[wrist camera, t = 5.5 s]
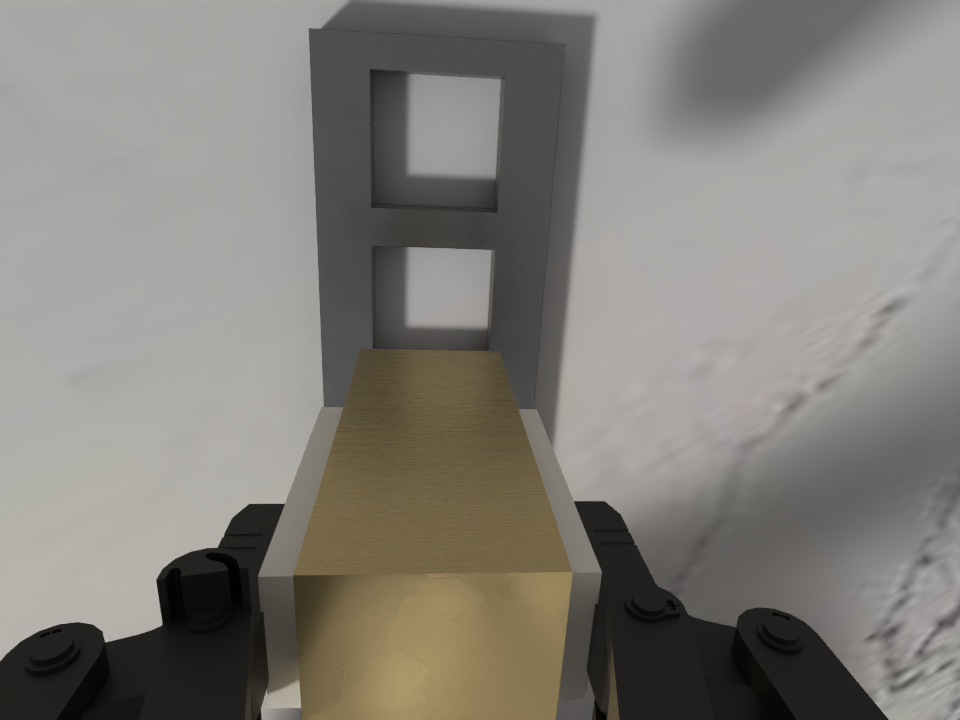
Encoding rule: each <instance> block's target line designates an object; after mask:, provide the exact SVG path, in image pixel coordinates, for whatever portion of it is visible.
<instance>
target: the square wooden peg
mask: <svg viewBox="0 0 960 720" xmlns="http://www.w3.org/2000/svg"><path fill="white" fill-rule="evenodd" d="M572 575H573V571H572V568H571V565H570V562H569V559H568V556H567V553H566V550H565V547H564V544H563V541H562V538H561V535H560V532H559V529H558V526H557V523H556V520H555V517H554V514H553V511H552V508H551V505H550V502H549V499H548V496H547V493H546V490H545V487H544V484H543V481H542V478H541V475H540V472H539V469H538V466H537V463H536V460H535V457H534V454H533V451H532V448H531V445H530V442H529V439H528V436H527V433H526V430H525V427H524V424H523V421H522V418H521V415H520V412H519V409H518V406H517V403H516V400H515V397H514V394H513V391H512V388H511V385H510V382H509V379H508V376H507V373H506V370H505V367H504V364H503V361H502V358H501V355H500V352H499V351H462V350H410V349H361V350H360V353H359V357H358V360H357V363H356V367H355V370H354V373H353V377H352V380H351V384H350V387H349V390H348V394H347V397H346V400H345V404H344V407H343V410H342V414H341V417H340V420H339V424H338V427H337V430H336V434H335V437H334V440H333V444H332V447H331V450H330V454H329V457H328V460H327V464H326V467H325V470H324V474H323V477H322V480H321V484H320V487H319V490H318V494H317V497H316V501H315V504H314V507H313V511H312V514H311V517H310V521H309V524H308V527H307V531H306V534H305V537H304V541H303V544H302V547H301V551H300V554H299V557H298V561H297V564H296V567H295V571H294V574H293V582H294V599H295V615H296V632H297V649H298V665H299V682H300V698H301V715H302V720H556V714H557V706H558V697H559V688H560V679H561V671H562V662H563V653H564V645H565V636H566V627H567V619H568V610H569V601H570V593H571V584H572Z"/></svg>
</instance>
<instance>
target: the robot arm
mask: <svg viewBox="0 0 960 720" xmlns="http://www.w3.org/2000/svg"><path fill="white" fill-rule="evenodd" d="M342 410H343V407H321V410H320V413H319V415H318V418H317V421H316V423H315V426H314V428H313V431H312V434H311V436H310V439H309V442H308V444H307V447H306V450H305V452H304V455H303V458H302V460H301V463H300V466H299V468H298V471H297V474H296V476H295V479H294V482H293V484H292V487H291V490H290V492H289V495H288V498H287V500H286V503H285V504H249V505H248V506H246V507H245V508H244V509H243V510H242V511H240V512H239V513H238V514H237V515H235V516H234V517H233V518H232V520H231V522H230V524H229V526H228V528H227V530H226V532H225V534H224V537H223V538H222V540H221V542H220V544H219V546H218V548H206V549H202V550H198V551H193V552H190V553H187V554H185V555H183V556H181V557H179V558H177V559H175V560H173V561H172V562H171V563H170V564H168V565H167V566H166V567H165V568H163V569H162V571H161V573H160V574H159V576H158V578H157V580H156V581H157V588H158V594H159V601H160V608H161V615H162V622H163V624H162V626H160V627H158V628H156V629H154V630H152V631H148V632H145V633H142V634H139V635H135V636H131V637H127V638H123V639H119V640H115V641H110V642H106V643H105V641H104V637H103V632H102V631H101V630H99V629H98V628H97V627H95V626H94V625H91V624H85V623H79V622H76V623H68V624H60V625H56V626H53V627H51V628H48V629H45V630H42V631H39V632H37V633H35V634H34V635H32V636H30V637H28V638H26V639H25V640H23V641H21V642H20V643H19V644H18V645H17V646H15V647H14V648H13V649H12V650H11V651H10V652H9V653H8V654H6V656H5V657H4V658H3V659H2V660H1V661H0V720H262V719H261V706H262V703H263V699H264V696H265V692H266V689H267V694H268V706H269V709H281V708H301V698H300V682H299V665H298V649H297V632H296V615H295V599H294V582H293V574H294V571H295V567H296V564H297V561H298V557H299V554H300V551H301V547H302V544H303V541H304V537H305V534H306V531H307V527H308V524H309V521H310V517H311V514H312V511H313V507H314V504H315V501H316V497H317V494H318V490H319V487H320V484H321V480H322V477H323V474H324V470H325V467H326V464H327V460H328V457H329V454H330V450H331V447H332V444H333V440H334V437H335V434H336V430H337V427H338V424H339V420H340V417H341V414H342ZM519 412H520V415H521V418H522V421H523V424H524V427H525V430H526V433H527V436H528V439H529V442H530V445H531V448H532V451H533V454H534V457H535V460H536V463H537V466H538V469H539V472H540V475H541V478H542V481H543V484H544V487H545V490H546V493H547V496H548V499H549V502H550V505H551V508H552V511H553V514H554V517H555V520H556V523H557V526H558V529H559V532H560V535H561V538H562V541H563V544H564V547H565V550H566V553H567V556H568V559H569V562H570V565H571V568H572V571H573V575H572V584H571V593H570V601H569V610H568V619H567V627H566V636H565V645H564V653H563V662H562V671H561V679H560V688H559V697H558V700H570V699H585V696H586V688H587V681H588V676H589V679H590V683H591V686H592V689H593V693H594V696H595V701H594V708H593V715H592V720H888V718H887V717H886V716H885V715H884V714H883V712H882V711H881V710H880V709H879V707H878V706H877V705H876V704H875V703H874V701H873V700H872V699H871V698H870V697H869V695H868V694H867V693H866V692H865V691H864V689H863V688H862V687H861V686H860V685H859V683H858V682H857V681H856V680H855V679H854V677H853V676H852V675H851V674H850V672H849V671H848V670H847V669H846V668H845V666H844V665H843V664H842V663H841V662H840V660H839V659H838V658H837V657H836V656H835V654H834V653H833V652H832V651H831V650H830V648H829V647H828V646H827V645H826V643H825V642H824V641H823V640H822V639H821V637H820V636H819V635H818V634H817V633H816V632H815V631H814V630H813V629H812V628H811V627H809V626H808V625H807V624H806V623H805V622H803V621H801V620H800V619H798V618H796V617H794V616H792V615H791V614H788V613H785V612H782V611H779V610H776V609H770V608H754V609H749V610H746V611H745V612H744V613H742V614H741V615H740V616H739V617H738V622H737V626H736V627H731V626H726V625H722V624H717V623H713V622H708V621H704V620H701V619H697V618H694V617H692V616H690V615H688V614H687V612H686V610H685V608H684V606H683V604H682V602H681V601H680V600H678V599H677V598H676V597H675V596H674V595H673V594H672V593H670V592H668V591H666V590H664V589H662V588H660V587H658V586H657V585H656V584H655V582H654V580H653V578H652V576H651V574H650V572H649V570H648V568H647V566H646V564H645V562H644V560H643V558H642V556H641V554H640V552H639V550H638V548H637V546H636V545H634V540H633V538H632V536H631V534H630V533H628V528H627V526H626V524H625V522H624V521H623V519H622V517H621V515H620V514H619V513H618V512H617V511H616V510H614V509H613V508H612V507H611V506H610V505H608V504H607V503H606V502H605V501H573V499H572V496H571V494H570V491H569V489H568V486H567V484H566V481H565V479H564V476H563V474H562V471H561V469H560V466H559V463H558V461H557V458H556V456H555V453H554V451H553V448H552V446H551V443H550V441H549V438H548V436H547V433H546V431H545V428H544V426H543V423H542V421H541V418H540V416H539V413H538V411H537V409H519Z"/></svg>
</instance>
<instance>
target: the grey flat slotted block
mask: <svg viewBox="0 0 960 720" xmlns="http://www.w3.org/2000/svg"><path fill="white" fill-rule="evenodd" d="M309 43H310V68H311V93H312V118H313V143H314V168H315V193H316V218H317V243H318V268H319V293H320V318H321V343H322V368H323V393H324V407H344V404H345V400H346V397H347V394H348V390H349V387H350V384H351V380H352V377H353V373H354V370H355V367H356V363H357V360H358V357H359V353H360V350H361V349H375V258H374V246H397V247H426V248H455V249H484V250H492V257H491V275H490V294H489V312H488V330H487V348H486V351H499V352H500V355H501V358H502V361H503V364H504V367H505V370H506V373H507V376H508V379H509V382H510V385H511V388H512V391H513V394H514V397H515V400H516V403H517V406H518V409H534V397H535V385H536V374H537V362H538V350H539V338H540V327H541V315H542V303H543V291H544V280H545V268H546V256H547V244H548V233H549V221H550V209H551V197H552V185H553V174H554V162H555V150H556V138H557V127H558V115H559V103H560V91H561V80H562V68H563V56H564V44H549V43H533V42H517V41H502V40H486V39H470V38H454V37H438V36H422V35H406V34H391V33H375V32H359V31H343V30H327V29H311V28H309ZM373 72H389V73H406V74H424V75H441V76H458V77H476V78H493V79H501V94H500V112H499V130H498V148H497V166H496V185H495V203H494V209H493V208H468V207H443V206H418V205H394V204H374V147H373Z"/></svg>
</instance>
